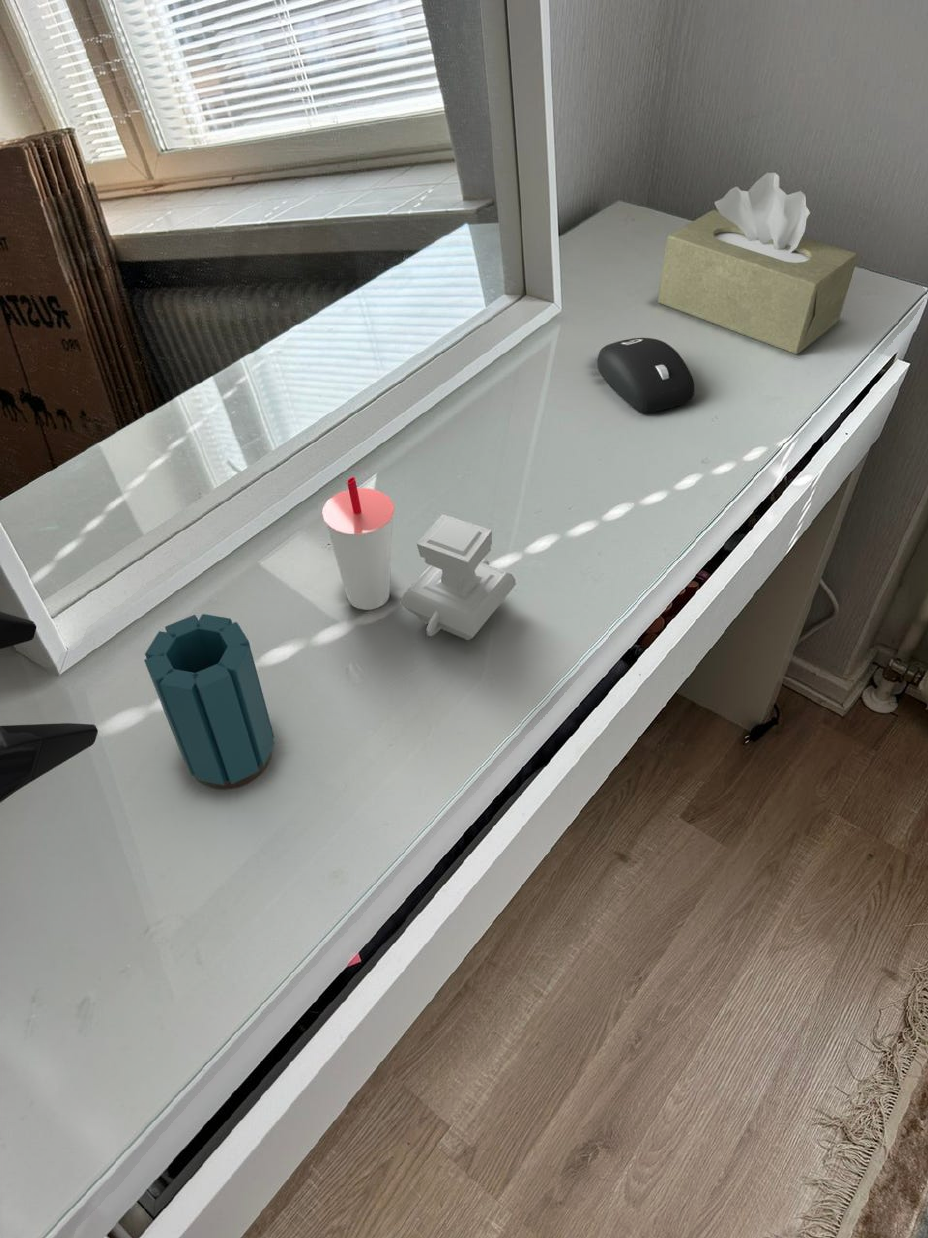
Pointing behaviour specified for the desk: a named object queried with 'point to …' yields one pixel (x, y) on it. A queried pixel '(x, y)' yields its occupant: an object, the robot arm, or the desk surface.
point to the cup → (362, 543)
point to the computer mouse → (646, 374)
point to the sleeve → (211, 697)
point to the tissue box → (757, 268)
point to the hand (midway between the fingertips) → (63, 680)
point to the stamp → (457, 579)
